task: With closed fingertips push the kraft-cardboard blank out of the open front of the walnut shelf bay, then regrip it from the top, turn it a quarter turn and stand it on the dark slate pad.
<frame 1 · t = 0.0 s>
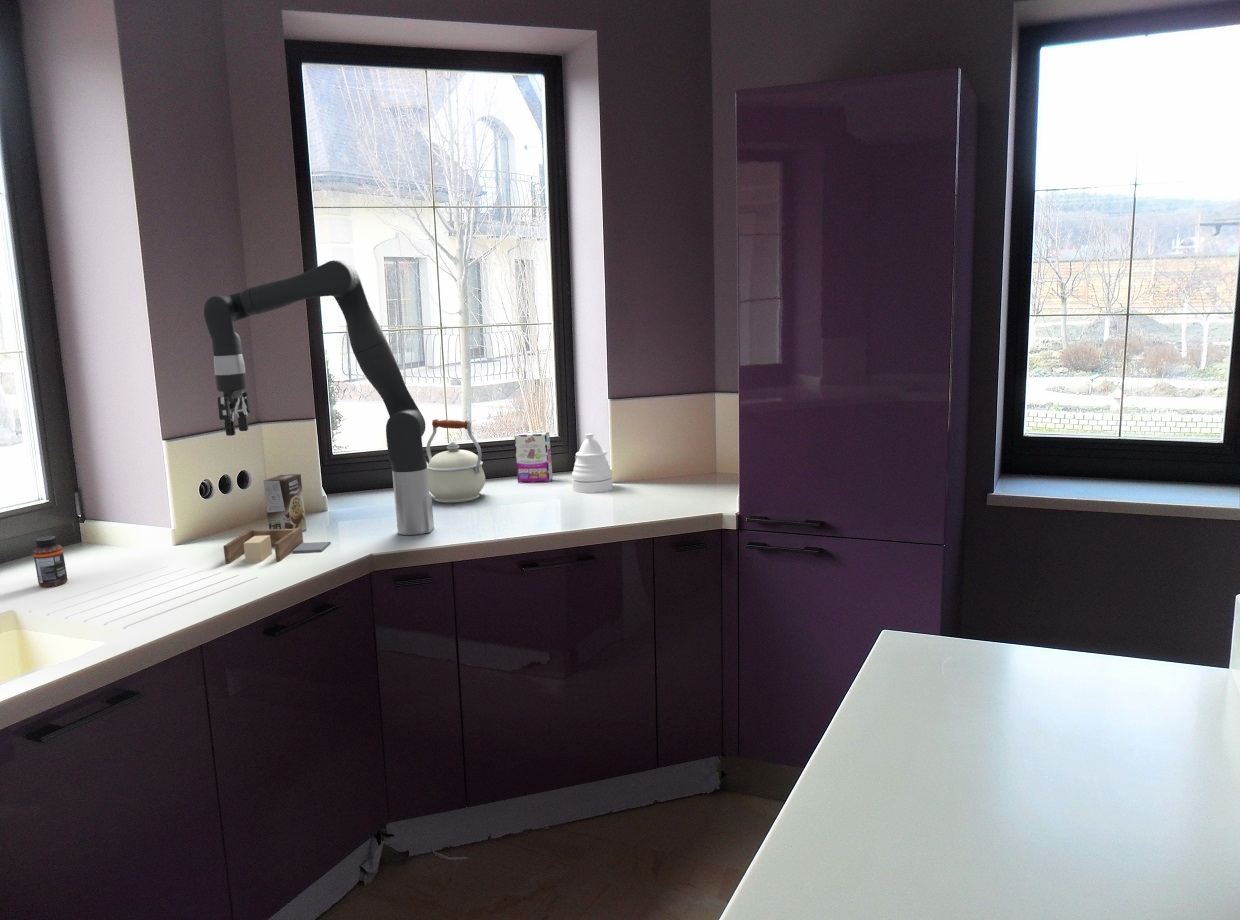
hand: (237, 433, 249), 29 cm above the table, tool pointing down, fingers open, 8 cm apart
coffee box: (288, 534, 258), on the table
blank: (259, 558, 235), on the table
honey pot: (592, 489, 299), on the table
kettle: (453, 498, 295), on the table
shelf bay: (265, 553, 238), on the table
candy bar box: (535, 481, 316), on the table
supplement bottle: (53, 585, 220), on the table
slate pad: (311, 548, 241), on the table
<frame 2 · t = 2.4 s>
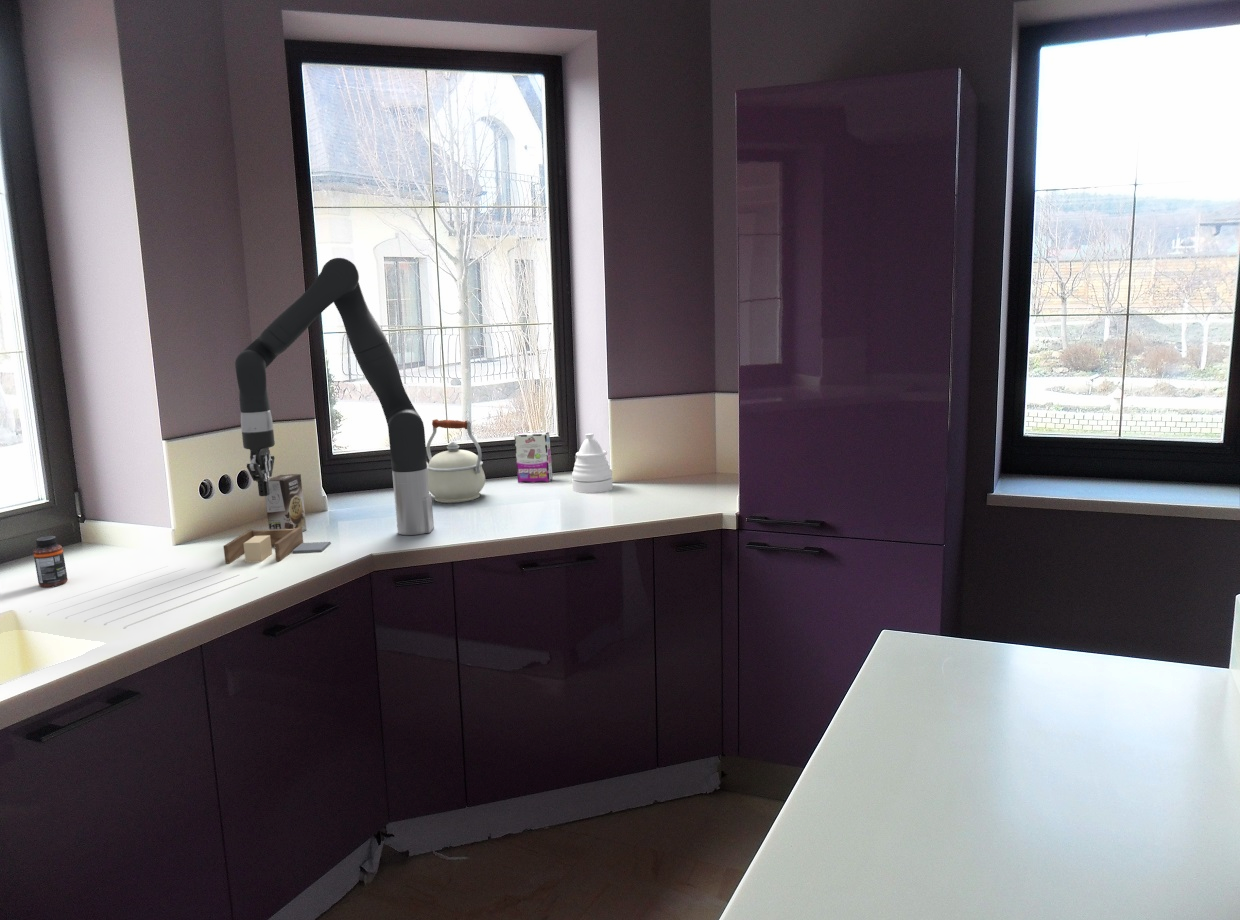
hand: (264, 495, 240), 14 cm above the table, tool pointing down, fingers closed
nothing on the table moved.
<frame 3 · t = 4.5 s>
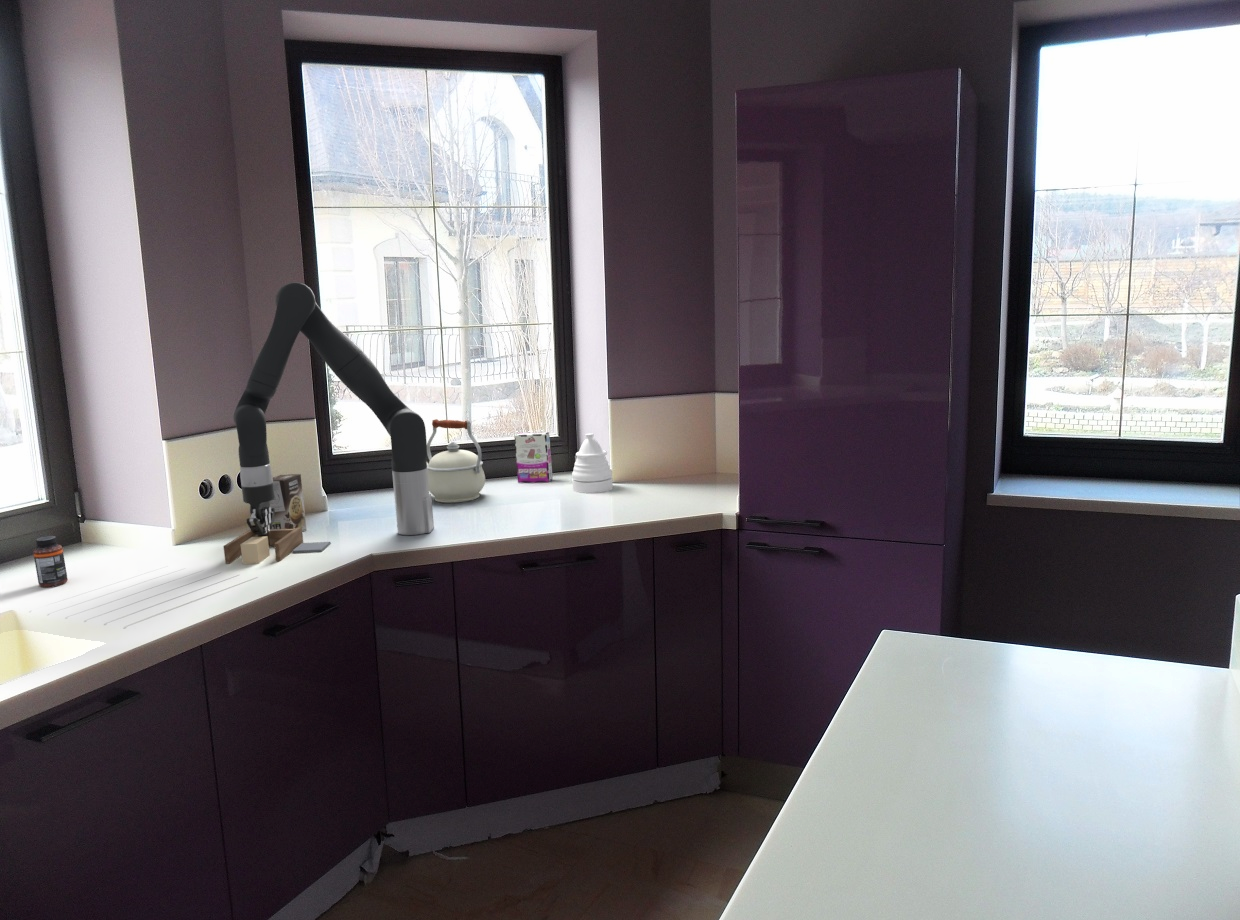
hand: (265, 548, 239), 1 cm above the table, tool pointing down, fingers closed
blank: (256, 559, 233), on the table, touching gripper
everything else where it was.
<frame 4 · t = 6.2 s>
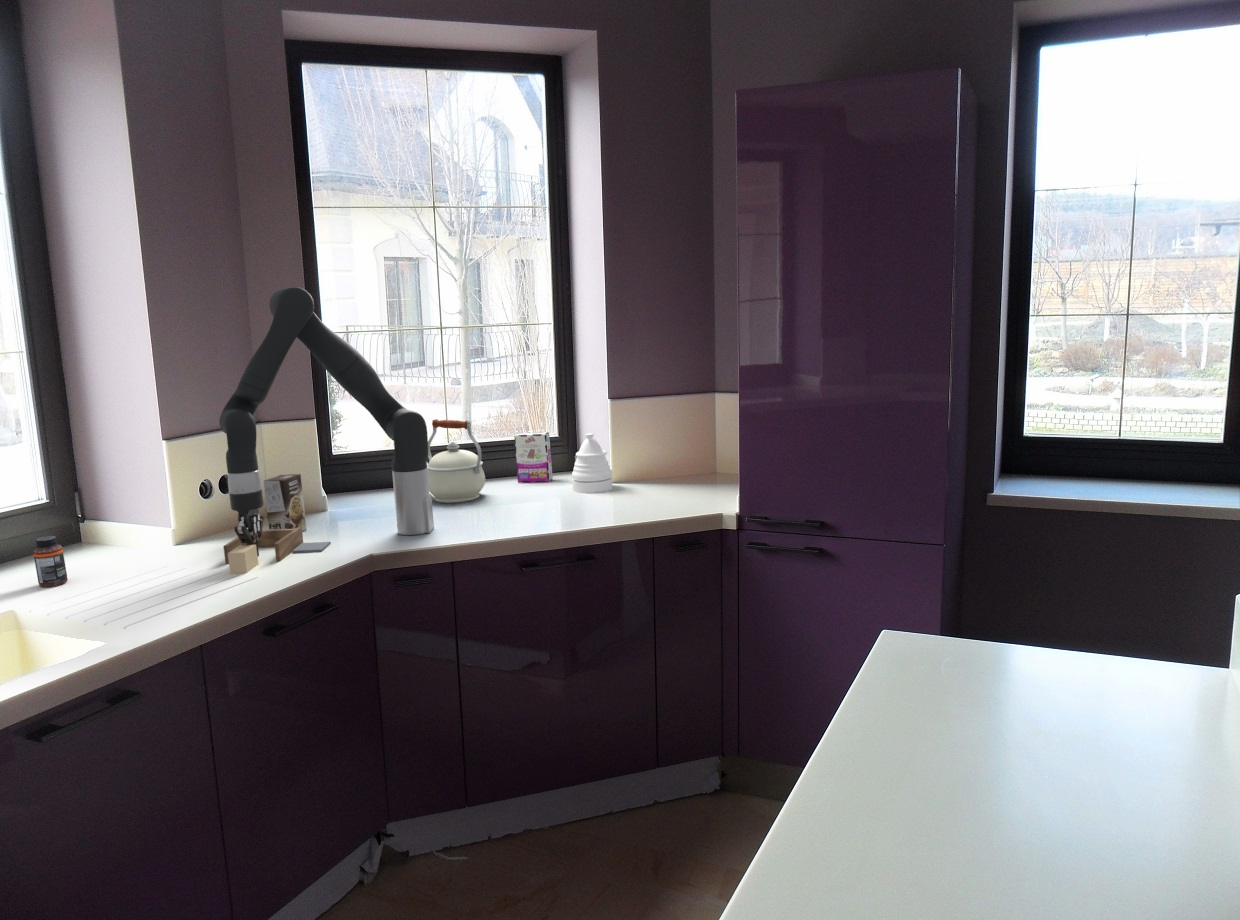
hand: (253, 557, 231), 1 cm above the table, tool pointing down, fingers closed
blank: (244, 568, 225), on the table, touching gripper
everything else where it was.
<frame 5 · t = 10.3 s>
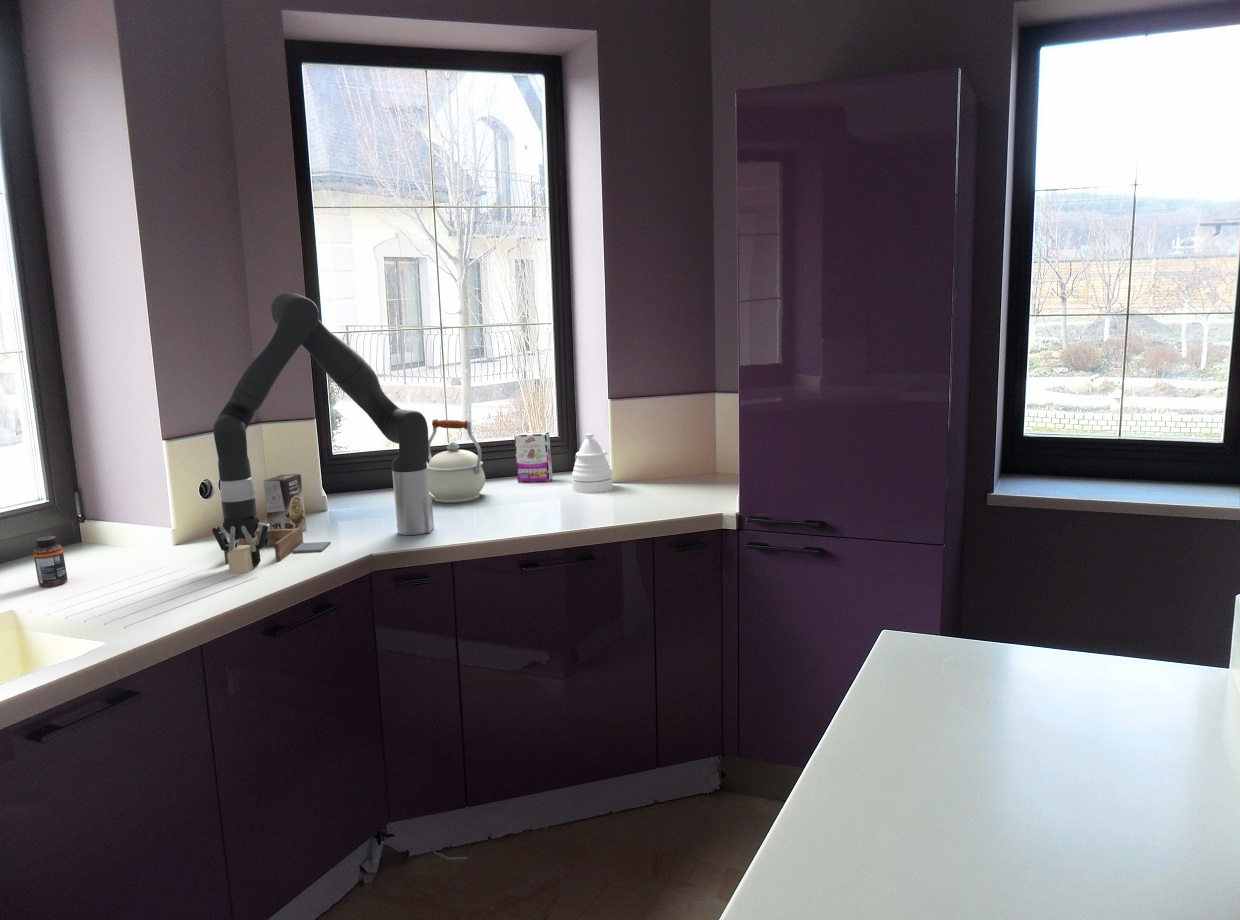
hand: (246, 565, 227), 0 cm above the table, tool pointing down, fingers closed on blank, 4 cm apart
blank: (244, 568, 225), on the table, touching gripper
everything else where it was.
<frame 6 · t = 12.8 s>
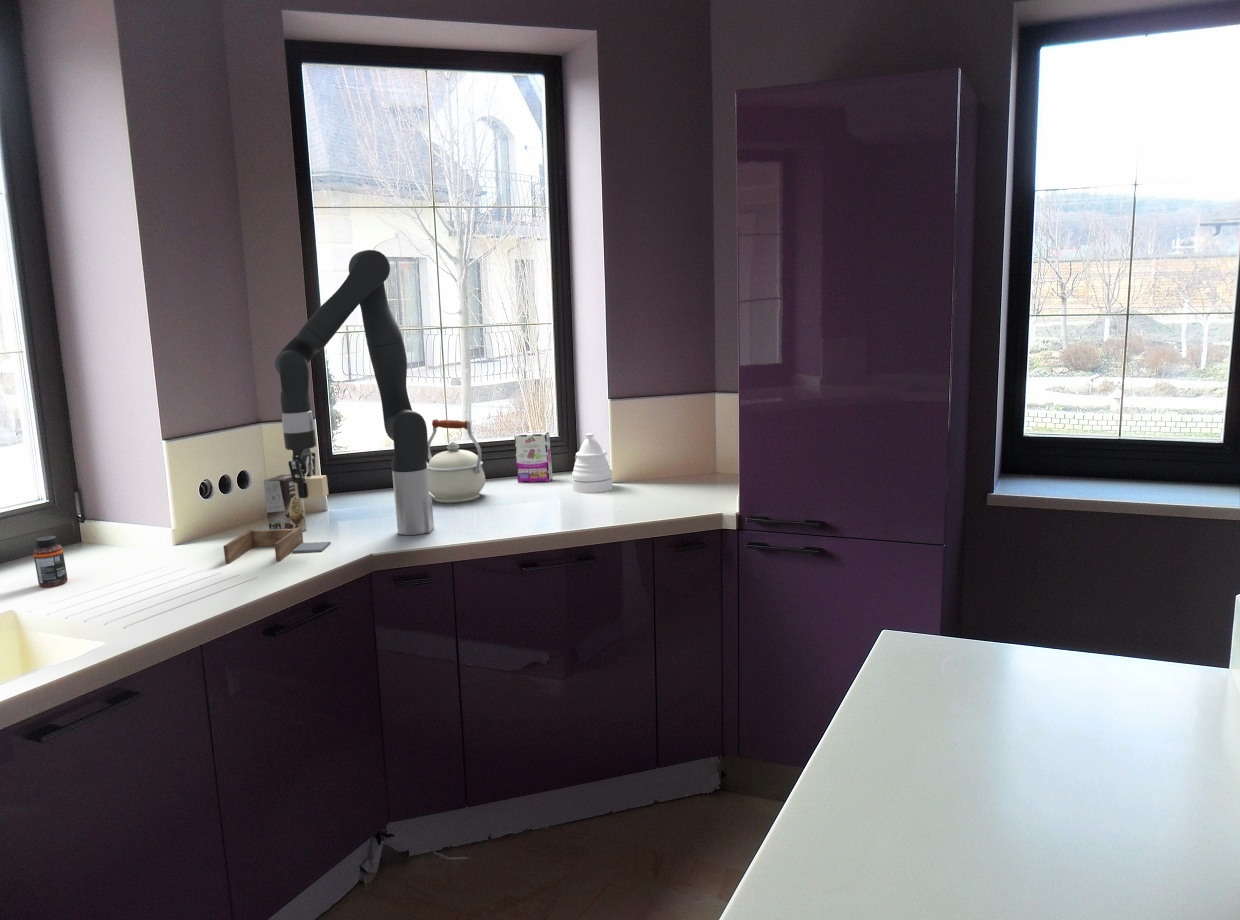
hand: (306, 495, 239), 14 cm above the table, tool pointing down, fingers closed on blank, 4 cm apart
blank: (312, 496, 239), point 14 cm above the table, touching gripper
everything else where it was.
when the fingers open (2 cm above the table, at t = 15.4 s): blank stays where it is, resting on slate pad.
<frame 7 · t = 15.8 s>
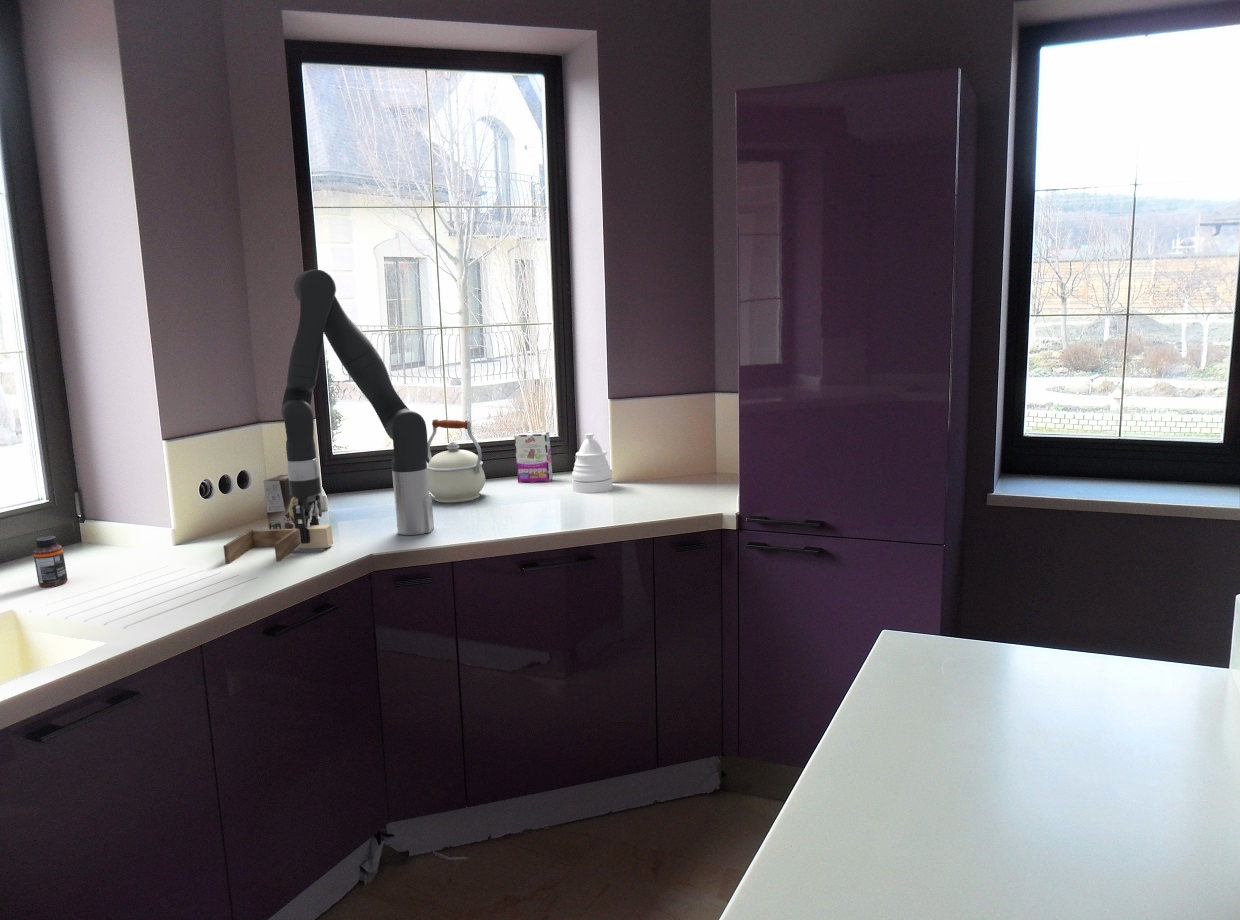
hand: (310, 539, 241), 2 cm above the table, tool pointing down, fingers open, 7 cm apart
blank: (317, 545, 241), point 1 cm above the table, touching slate pad
everything else where it was.
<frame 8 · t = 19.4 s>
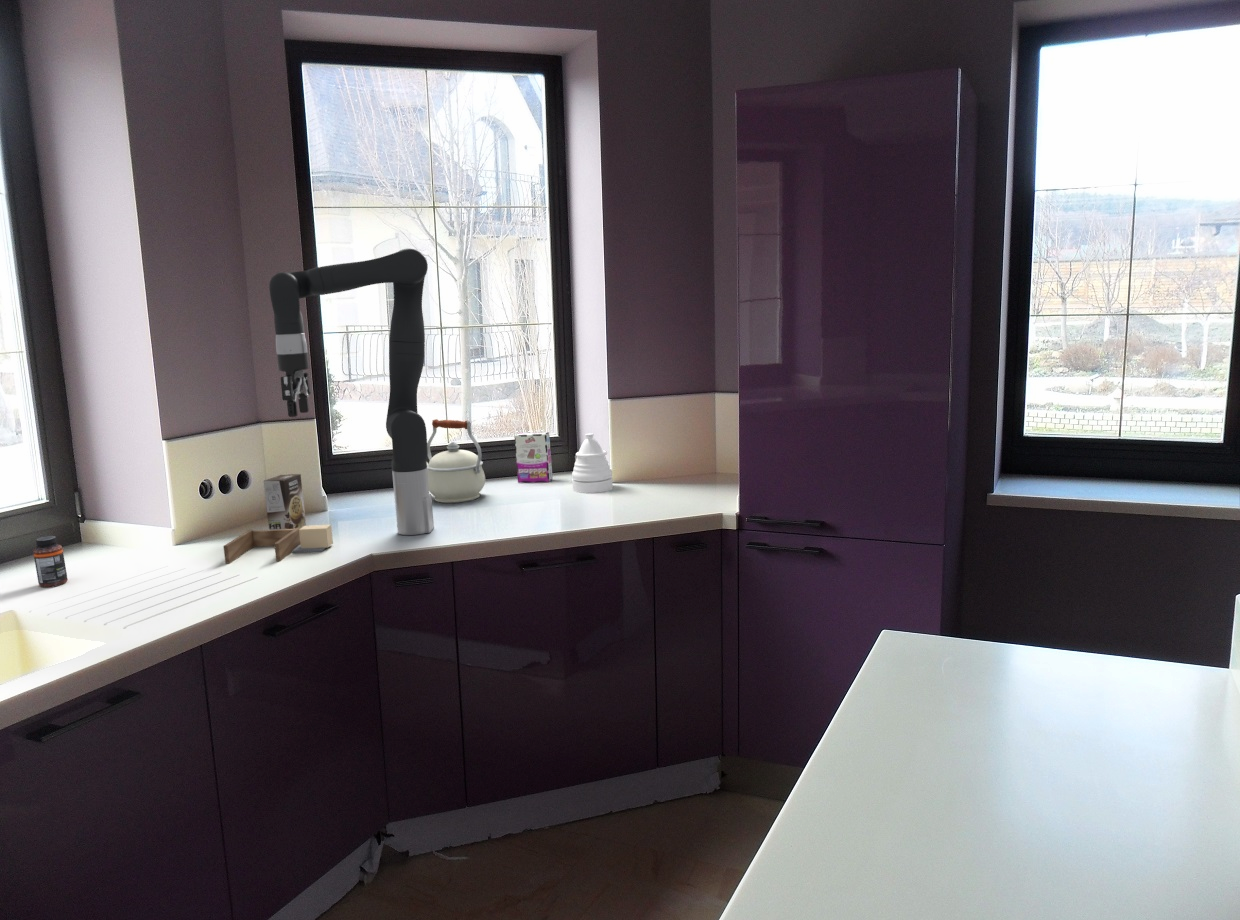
hand: (299, 414, 242), 34 cm above the table, tool pointing down, fingers open, 8 cm apart
nothing on the table moved.
at the end: blank inside the target area on the slate pad (1.5 cm from its centre), point 0.6 cm above the slate pad's base; blank tilted 0°; the gripper is holding nothing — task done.
